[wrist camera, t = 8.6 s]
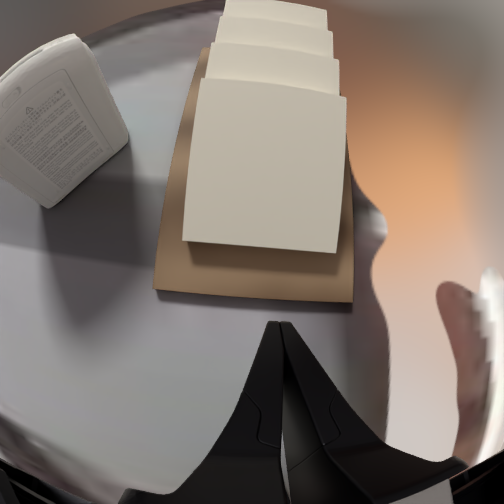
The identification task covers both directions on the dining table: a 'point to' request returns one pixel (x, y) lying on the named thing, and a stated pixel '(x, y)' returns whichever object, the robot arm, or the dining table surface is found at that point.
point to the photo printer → (56, 120)
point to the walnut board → (239, 256)
